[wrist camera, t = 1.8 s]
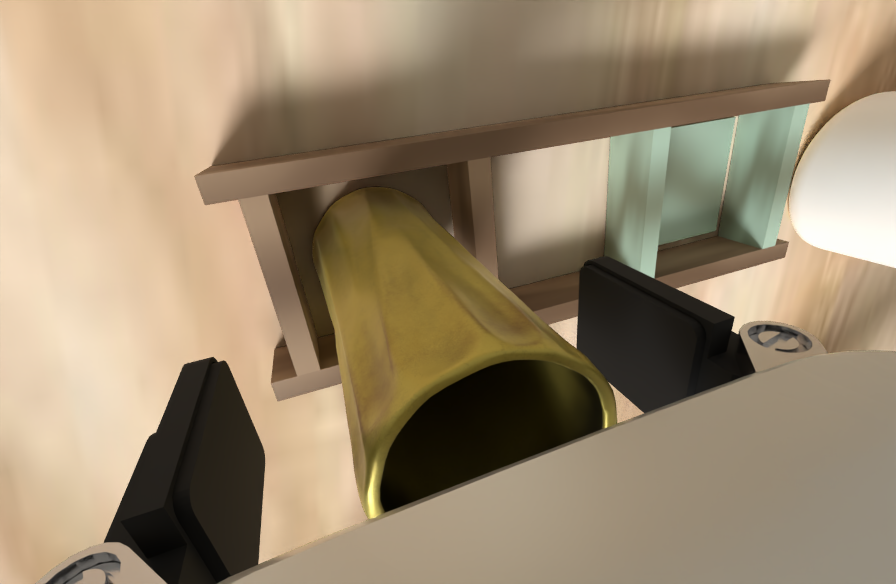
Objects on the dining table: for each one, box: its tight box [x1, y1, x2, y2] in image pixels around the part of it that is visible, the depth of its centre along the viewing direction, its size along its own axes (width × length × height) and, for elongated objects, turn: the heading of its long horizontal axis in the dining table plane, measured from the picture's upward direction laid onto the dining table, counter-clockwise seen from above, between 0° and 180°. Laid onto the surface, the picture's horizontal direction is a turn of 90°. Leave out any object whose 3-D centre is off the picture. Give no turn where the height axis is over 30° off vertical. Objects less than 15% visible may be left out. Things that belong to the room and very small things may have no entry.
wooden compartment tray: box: [194, 80, 830, 401], centre depth 21 cm, size 10×30×3 cm, turn 96°
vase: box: [312, 187, 617, 519], centre depth 14 cm, size 6×6×14 cm
